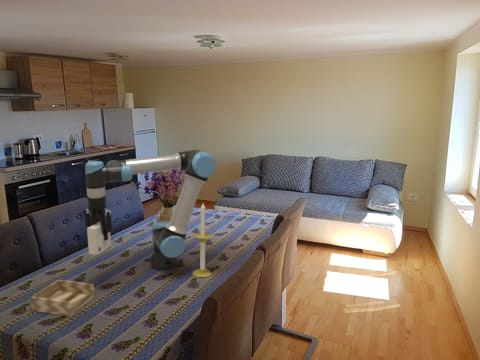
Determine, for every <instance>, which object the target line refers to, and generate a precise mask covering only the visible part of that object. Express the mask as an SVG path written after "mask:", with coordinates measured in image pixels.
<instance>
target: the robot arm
mask: <svg viewBox="0 0 480 360" xmlns="http://www.w3.org/2000/svg"><path fill="white" fill-rule="evenodd" d="M216 165H217V164H216V160H215V158H214V157H213V156H212V154H210V153H208V152H206V151H202V150H198V149H190V150H185V151H178V152H177V151H176V153H175V154H167V155H160V156H150V157H143V158H130V159H124V160H123V159H122V160H117V159H113V160H109V161H108V162H107V163H106V165H104V162H103V161H100V160H99V161H97V160H96V161H95V160H94V161H87V162H86V163H85V165H84V166H85V168H84V169H85V170H84V171H85V173H84V174H85V182H86V184H85V185H86V196H87V206H88V207H87V208H86V209H83V210H82V212H83V215H84V220H85V221H84V222H85V231H87V228H88V227H90V226H92V225H94V224H96V223H97V219H98V220H99V222H100V224H101V228H102V231H103V233H102V234H101V236H102V248H104V247H106V246H107V240H108V233H109V232H110V233H111V232H112V230H113V227H112V224H113V223H112V214H113V210H109V209H107V206H106V205H107V199H106V198H107V197H106V184H107V183H118V182H119V183H121V182H129V181H132V179H133V176H134V175H139V174H140V175H142V174H147V173H149V174H150V173H155V172H157V173H158V172H164V171H165V172H166V171H172V170H177V171H179V172H180V171H184V177H185V180H184V183H183V186H182V188H181V191H180V193H179V196H178V199H177V201H176V204H175V206H174V209H173V211H172V215H171V217H170V220H169V221H158V222H155V223H153V224H152V226H151V234H152V235H151V237H152V253H151V256H150V260H149V266H150V268H152V269H154V270H158V271H159V270H160V271H162V270H171V269H173V268H176V267H177V266H179V263H180V261H179V256H181V255H182V254H183V253H184V251H185V249H186V241H185V240H186V237H187V234H188V232H187V229H186V228H187V226H188V223H189V220H190V218H191V215H192V212H193V210H194V207H195V205H196V202H197V201H198V200H197V199H198V197H199V194H200V192H201V189H202V186H203V184H206V183H207V182H208V179H209V177H211V176H213V174H214V172H215V171H216V168H217V166H216Z"/></svg>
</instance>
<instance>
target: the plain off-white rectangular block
mask: <svg viewBox="0 0 480 360" xmlns="http://www.w3.org/2000/svg"><path fill="white" fill-rule="evenodd" d="M86 233H87V245H88V246H87V247H88V254H89V255H99V254H100V253H102V252H104V251H105V250H106V249H109V248H110V247H111V246H112V240H111V231H110V232H109V233H108V240H107V246H106V247H104V248H102V236H101V234H102V233H103V231H102V228H101V224H100V221H98V222H96V224H94V225H92V226H90V227H88V228H87V230H86Z"/></svg>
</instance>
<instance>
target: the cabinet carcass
mask: <svg viewBox="0 0 480 360" xmlns="http://www.w3.org/2000/svg"><path fill="white" fill-rule="evenodd" d="M94 298H95V287H94V284H93V283H85V282H78V281H71V280H65V279H57V280H55V281H54V282H52V283H51V284H49V285H47V286H46V287H44V288H43V289H41V290H39V291H38V292H36V293H35V294H33V295H32V296H30V303H31V312H32V311H33V312H38V313H39V312H40V313H47V314H52V315H59V316H62V317H63V316H64V317H71V316H73V315H74V314H75V313H76V312H78V311H79V310H80V309H82V308H83V307H84V306H85V305H86V304H88V303H90V301H91V300H93V299H94Z"/></svg>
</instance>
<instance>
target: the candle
mask: <svg viewBox="0 0 480 360" xmlns="http://www.w3.org/2000/svg"><path fill="white" fill-rule="evenodd" d="M193 236H194V238H195V239H199V243H200V244H199V245H200V246H199V249H200V250H199V260H200V261H199V268H196V269H195V270H193V271H192V276H193V277H195V276H196V278H198V277H206V278H208V277H207V276H209V277H211V276H212V275H213V272H212V273H209V270H210V269H209V270H208V268H206V239H210V238H211V237H212V234H211V233H209V232H206V206H205V204H204V202H202V205H200V232H197V233H195V234H194V235H193ZM207 271H208V272H207ZM211 274H212V275H211ZM210 275H211V276H210Z"/></svg>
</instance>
